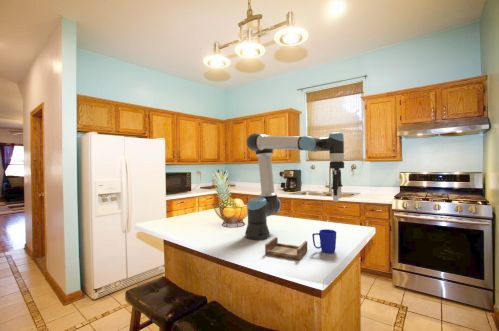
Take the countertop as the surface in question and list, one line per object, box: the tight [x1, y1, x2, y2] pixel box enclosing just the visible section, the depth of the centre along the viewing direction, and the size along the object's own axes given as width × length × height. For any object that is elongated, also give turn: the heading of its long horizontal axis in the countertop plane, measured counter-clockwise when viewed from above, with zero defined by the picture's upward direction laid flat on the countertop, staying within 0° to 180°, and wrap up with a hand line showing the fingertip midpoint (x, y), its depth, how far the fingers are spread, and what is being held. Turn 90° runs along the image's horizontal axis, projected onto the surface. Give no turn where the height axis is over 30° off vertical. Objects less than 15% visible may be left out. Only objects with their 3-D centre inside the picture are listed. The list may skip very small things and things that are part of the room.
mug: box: [312, 228, 337, 254], centre depth 126 cm, size 8×12×10 cm
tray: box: [264, 236, 308, 261], centre depth 125 cm, size 17×13×5 cm
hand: (337, 199), depth 137 cm, fingers open, 13 cm apart
